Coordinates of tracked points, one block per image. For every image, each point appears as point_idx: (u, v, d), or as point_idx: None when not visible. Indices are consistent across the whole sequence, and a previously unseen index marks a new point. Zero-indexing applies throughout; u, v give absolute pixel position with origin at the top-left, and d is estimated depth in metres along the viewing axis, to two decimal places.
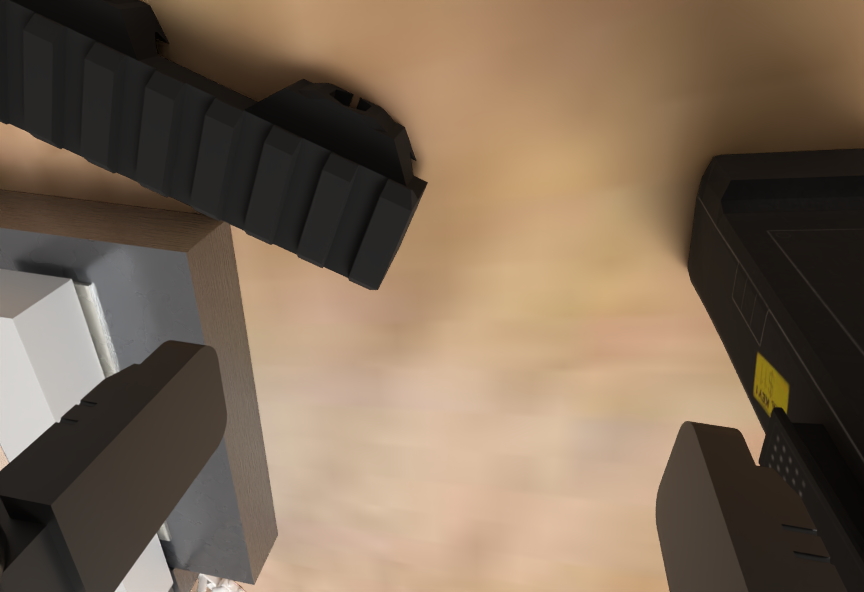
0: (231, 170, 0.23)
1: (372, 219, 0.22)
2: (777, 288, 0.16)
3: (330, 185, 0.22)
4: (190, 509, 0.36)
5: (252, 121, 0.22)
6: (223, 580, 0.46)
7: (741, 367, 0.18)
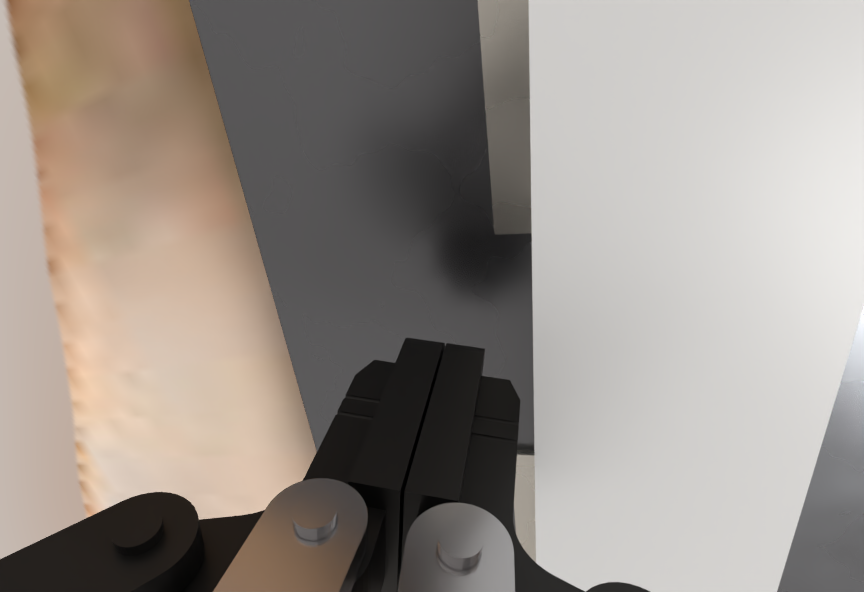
0: None
1: None
2: None
3: None
4: (794, 563, 0.14)
5: None
6: None
7: None
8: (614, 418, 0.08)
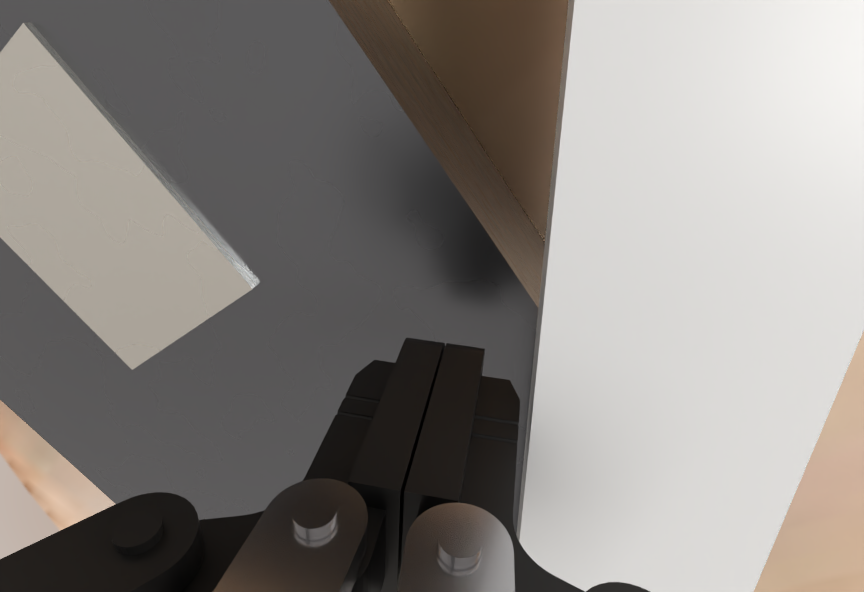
0: None
1: None
2: None
3: None
4: None
5: None
6: None
7: None
8: (612, 419, 0.08)
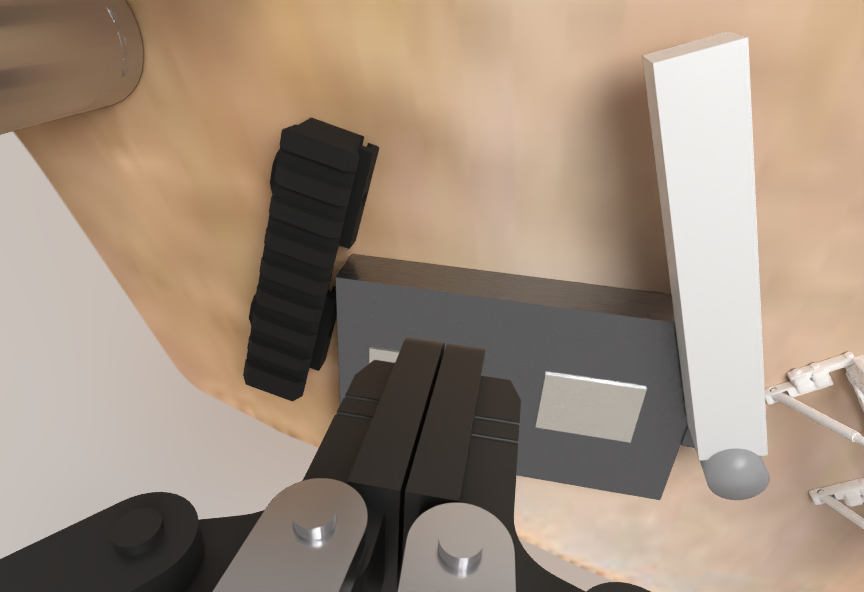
0: (301, 240, 0.38)
1: (300, 154, 0.35)
2: None
3: (286, 180, 0.36)
4: (599, 356, 0.39)
5: (271, 224, 0.38)
6: (789, 377, 0.41)
7: None
8: (697, 233, 0.29)
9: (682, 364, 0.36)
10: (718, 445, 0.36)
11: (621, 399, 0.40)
